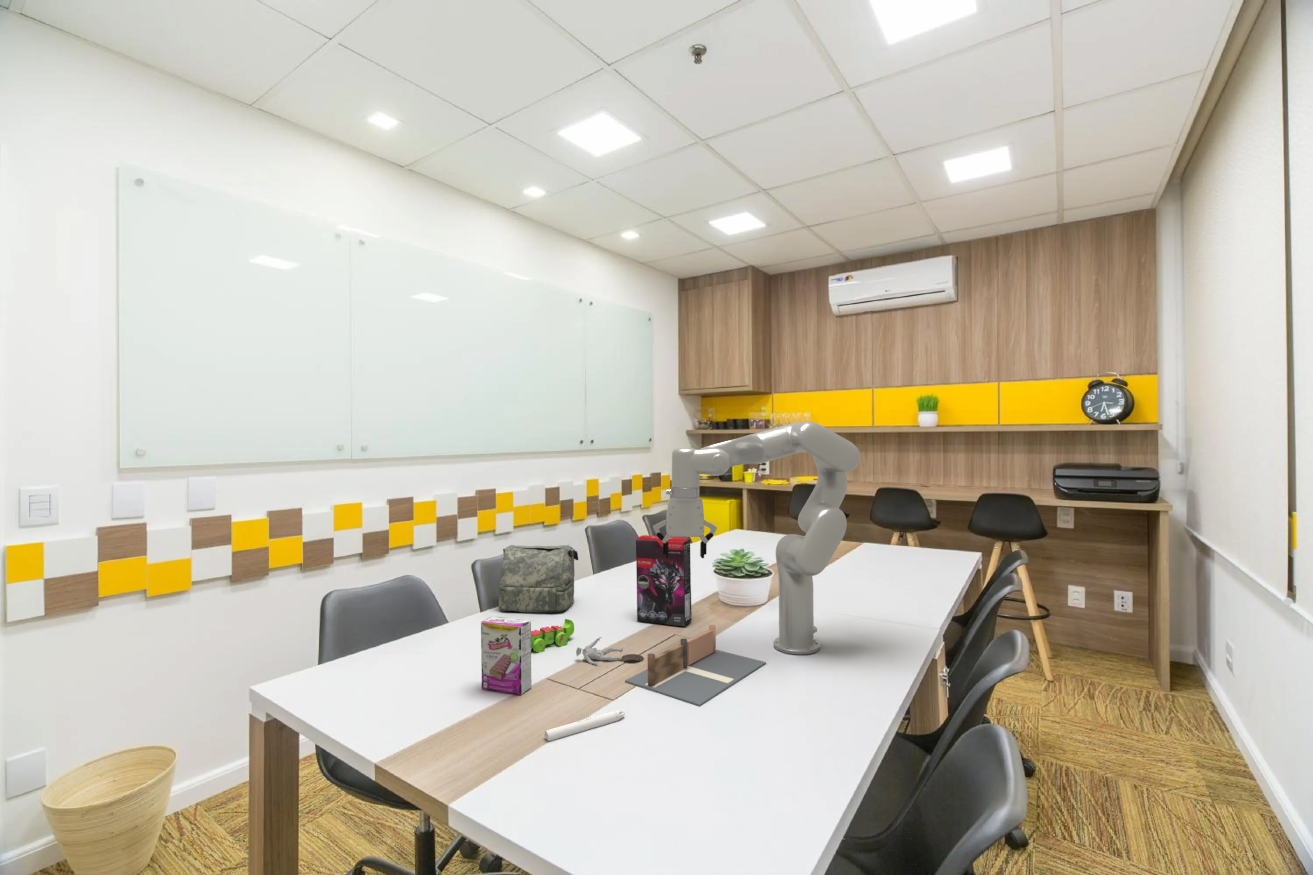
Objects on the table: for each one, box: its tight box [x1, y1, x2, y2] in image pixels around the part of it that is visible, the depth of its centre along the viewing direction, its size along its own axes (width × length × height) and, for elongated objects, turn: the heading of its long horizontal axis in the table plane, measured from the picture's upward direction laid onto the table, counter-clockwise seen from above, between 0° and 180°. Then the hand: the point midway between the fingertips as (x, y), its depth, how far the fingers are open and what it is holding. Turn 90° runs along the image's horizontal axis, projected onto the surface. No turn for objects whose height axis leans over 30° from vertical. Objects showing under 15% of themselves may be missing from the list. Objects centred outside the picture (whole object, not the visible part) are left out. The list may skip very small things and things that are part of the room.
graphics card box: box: [635, 534, 693, 627], centre depth 195 cm, size 17×7×27 cm, turn 67°
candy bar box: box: [480, 616, 532, 696], centre depth 144 cm, size 11×5×16 cm, turn 71°
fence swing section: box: [687, 624, 717, 665], centre depth 161 cm, size 13×2×7 cm, turn 142°
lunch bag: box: [498, 544, 579, 613], centre depth 213 cm, size 26×18×22 cm
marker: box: [544, 709, 626, 743], centre depth 125 cm, size 18×2×2 cm, turn 122°
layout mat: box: [624, 649, 767, 707], centre depth 153 cm, size 31×22×1 cm
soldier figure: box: [575, 636, 624, 666], centre depth 162 cm, size 8×5×12 cm
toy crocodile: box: [531, 618, 575, 654], centre depth 173 cm, size 20×7×6 cm, turn 132°
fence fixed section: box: [647, 638, 688, 686], centre depth 150 cm, size 15×2×7 cm, turn 142°
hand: (684, 557), depth 163 cm, fingers open, 9 cm apart
